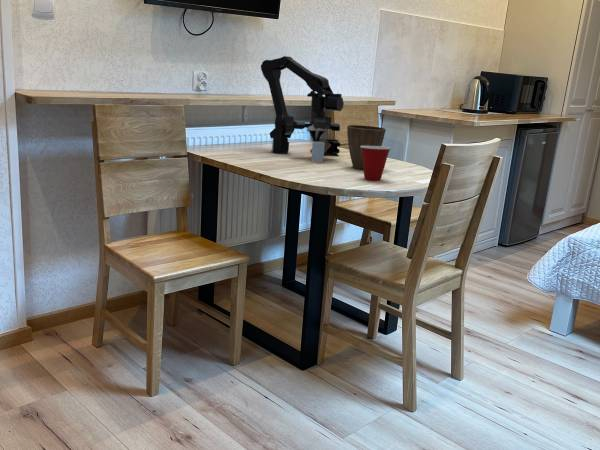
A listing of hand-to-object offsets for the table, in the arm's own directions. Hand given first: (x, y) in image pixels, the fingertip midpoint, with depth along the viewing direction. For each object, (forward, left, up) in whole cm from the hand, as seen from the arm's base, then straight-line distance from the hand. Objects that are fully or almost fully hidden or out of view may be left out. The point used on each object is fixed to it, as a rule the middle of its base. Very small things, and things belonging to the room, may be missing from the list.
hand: (314, 146), depth 245 cm
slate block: (-1, -9, -5) cm, 10 cm away
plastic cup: (+12, -41, -5) cm, 43 cm away
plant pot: (+15, -19, -5) cm, 25 cm away
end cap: (+8, +12, -5) cm, 16 cm away
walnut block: (0, 0, -4) cm, 4 cm away
